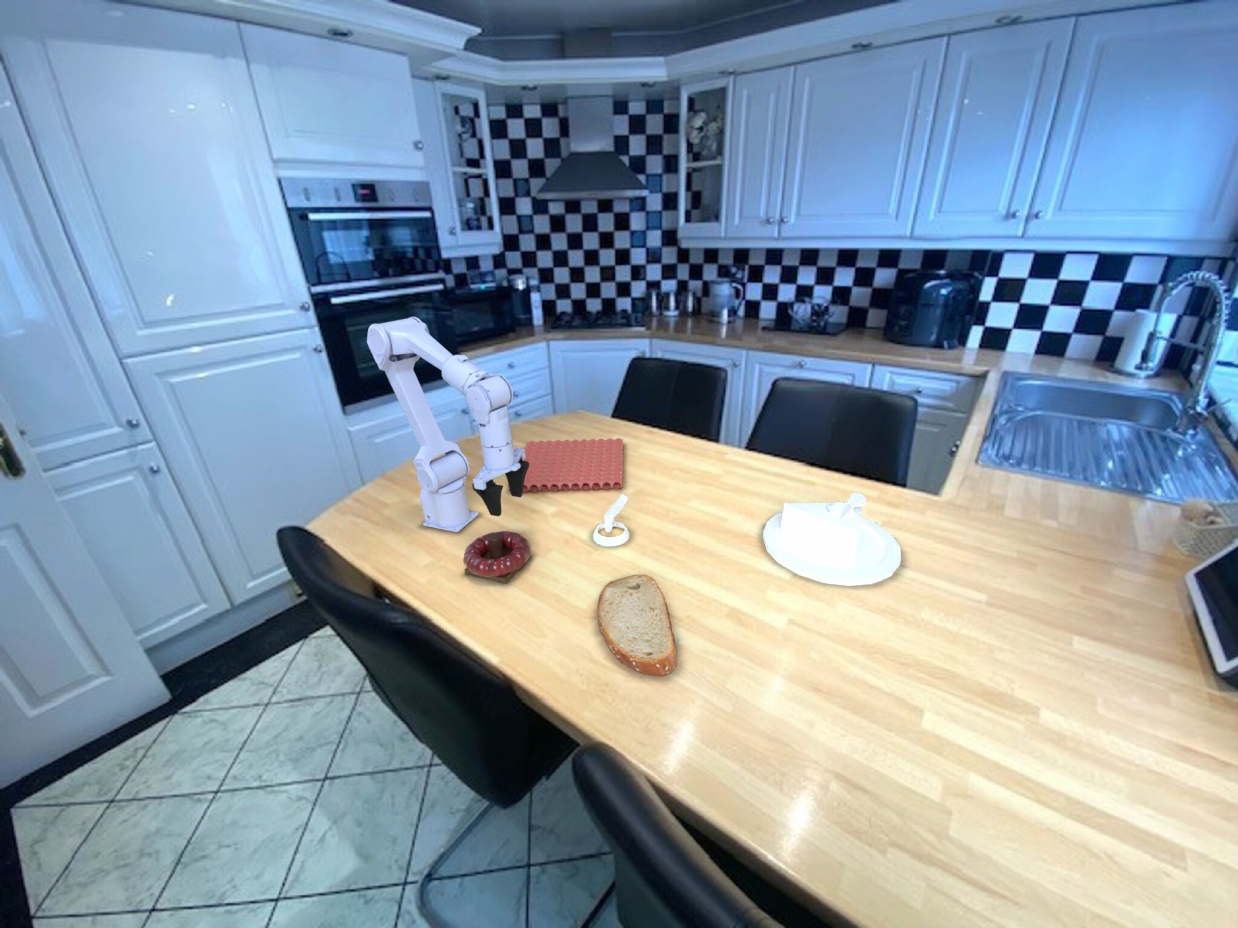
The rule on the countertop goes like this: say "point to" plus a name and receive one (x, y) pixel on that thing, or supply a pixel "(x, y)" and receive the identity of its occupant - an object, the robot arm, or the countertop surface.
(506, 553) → the post
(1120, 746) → the countertop surface
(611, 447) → the egg carton
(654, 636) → the bread slice
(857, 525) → the dish
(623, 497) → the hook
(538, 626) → the countertop surface
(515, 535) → the ring
